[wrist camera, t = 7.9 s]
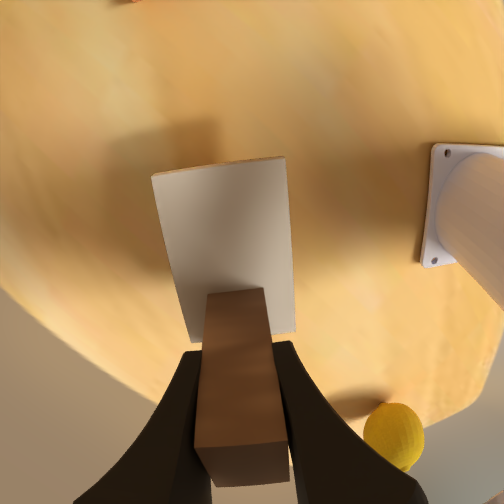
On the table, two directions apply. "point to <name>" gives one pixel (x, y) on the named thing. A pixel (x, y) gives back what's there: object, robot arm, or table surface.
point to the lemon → (395, 434)
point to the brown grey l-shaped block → (233, 307)
